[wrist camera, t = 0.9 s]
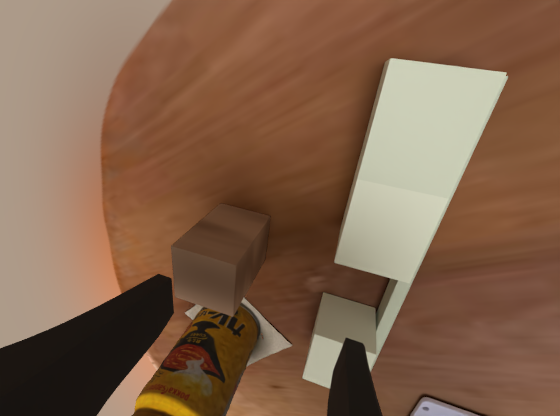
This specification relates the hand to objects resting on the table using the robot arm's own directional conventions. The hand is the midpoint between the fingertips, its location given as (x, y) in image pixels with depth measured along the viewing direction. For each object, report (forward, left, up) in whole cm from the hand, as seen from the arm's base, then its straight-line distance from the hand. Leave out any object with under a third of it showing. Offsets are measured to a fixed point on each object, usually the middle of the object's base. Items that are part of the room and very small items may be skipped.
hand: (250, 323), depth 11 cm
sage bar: (-1, -5, -10) cm, 11 cm away
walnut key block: (-3, +4, -10) cm, 11 cm away
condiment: (-14, +4, -10) cm, 17 cm away
